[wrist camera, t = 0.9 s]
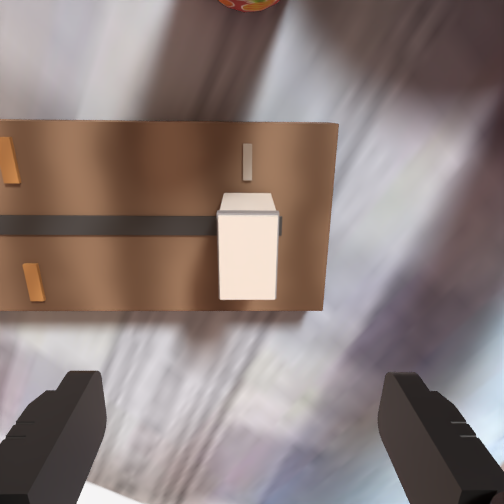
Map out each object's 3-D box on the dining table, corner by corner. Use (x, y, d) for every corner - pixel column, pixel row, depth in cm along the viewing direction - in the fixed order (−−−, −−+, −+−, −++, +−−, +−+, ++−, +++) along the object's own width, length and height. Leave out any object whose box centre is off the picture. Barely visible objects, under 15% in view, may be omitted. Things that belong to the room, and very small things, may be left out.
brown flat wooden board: (329, 122, 28) (339, 124, 25) (315, 293, 33) (323, 312, 29) (-59, 118, 27) (-98, 120, 24) (-12, 293, 32) (-40, 312, 29)
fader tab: (272, 191, 26) (279, 214, 20) (270, 262, 28) (276, 301, 22) (222, 191, 26) (216, 214, 20) (223, 261, 28) (218, 301, 22)
